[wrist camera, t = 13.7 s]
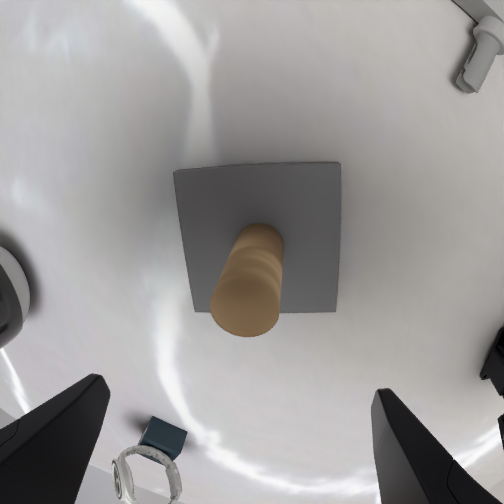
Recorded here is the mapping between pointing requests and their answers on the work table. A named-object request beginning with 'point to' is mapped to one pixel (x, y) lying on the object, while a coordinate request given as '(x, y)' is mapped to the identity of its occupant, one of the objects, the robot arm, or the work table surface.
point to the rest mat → (267, 212)
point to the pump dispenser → (12, 297)
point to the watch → (151, 458)
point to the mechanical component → (482, 41)
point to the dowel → (250, 283)
